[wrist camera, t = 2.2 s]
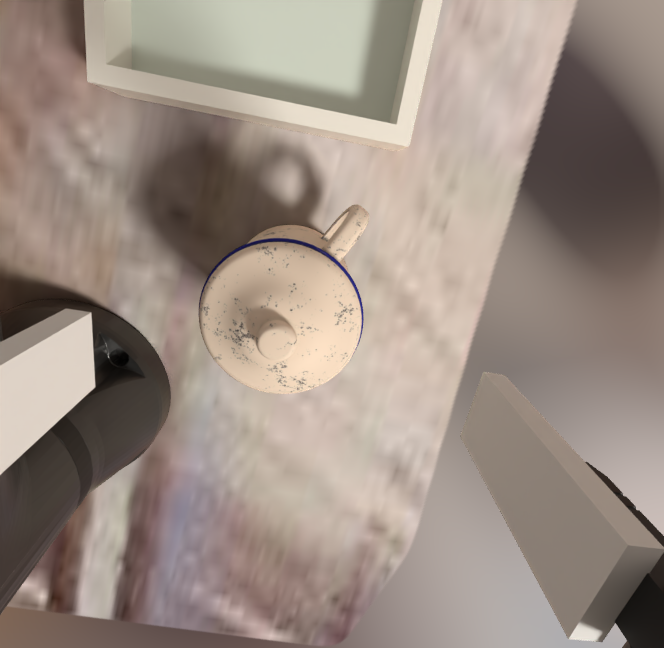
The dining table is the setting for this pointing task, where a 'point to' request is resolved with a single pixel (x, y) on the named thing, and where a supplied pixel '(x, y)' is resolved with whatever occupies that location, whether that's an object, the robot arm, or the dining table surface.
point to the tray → (271, 61)
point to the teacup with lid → (285, 306)
